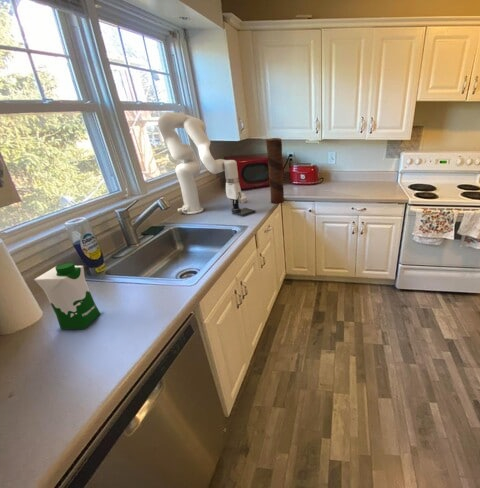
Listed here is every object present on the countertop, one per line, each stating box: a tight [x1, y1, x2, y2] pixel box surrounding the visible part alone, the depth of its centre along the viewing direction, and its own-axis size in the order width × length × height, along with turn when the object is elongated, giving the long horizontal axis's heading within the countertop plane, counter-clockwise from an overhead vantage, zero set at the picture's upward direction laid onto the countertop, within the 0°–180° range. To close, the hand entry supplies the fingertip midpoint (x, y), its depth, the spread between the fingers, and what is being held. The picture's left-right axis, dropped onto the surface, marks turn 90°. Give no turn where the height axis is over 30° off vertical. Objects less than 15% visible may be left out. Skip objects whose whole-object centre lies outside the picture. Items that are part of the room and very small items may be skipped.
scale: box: [230, 207, 256, 218], centre depth 185 cm, size 12×11×3 cm
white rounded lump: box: [239, 192, 248, 204], centre depth 206 cm, size 6×6×7 cm
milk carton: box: [33, 261, 101, 330], centre depth 83 cm, size 9×9×20 cm
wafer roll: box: [265, 137, 285, 204], centre depth 200 cm, size 10×11×45 cm
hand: (236, 208), depth 183 cm, fingers closed
